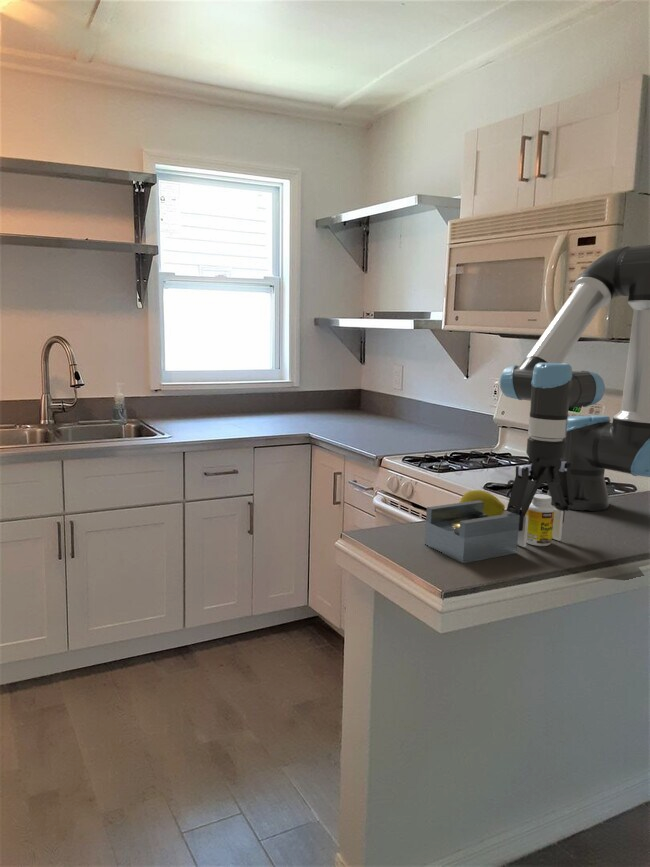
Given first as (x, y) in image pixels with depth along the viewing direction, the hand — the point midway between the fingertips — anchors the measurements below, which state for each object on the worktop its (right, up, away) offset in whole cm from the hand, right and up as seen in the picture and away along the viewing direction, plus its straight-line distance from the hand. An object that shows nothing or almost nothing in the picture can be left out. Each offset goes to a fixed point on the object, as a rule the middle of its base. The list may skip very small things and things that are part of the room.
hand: (537, 541), depth 143 cm
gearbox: (-15, -1, -5) cm, 16 cm away
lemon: (-10, +2, +12) cm, 15 cm away
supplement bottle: (0, 0, 0) cm, 1 cm away
